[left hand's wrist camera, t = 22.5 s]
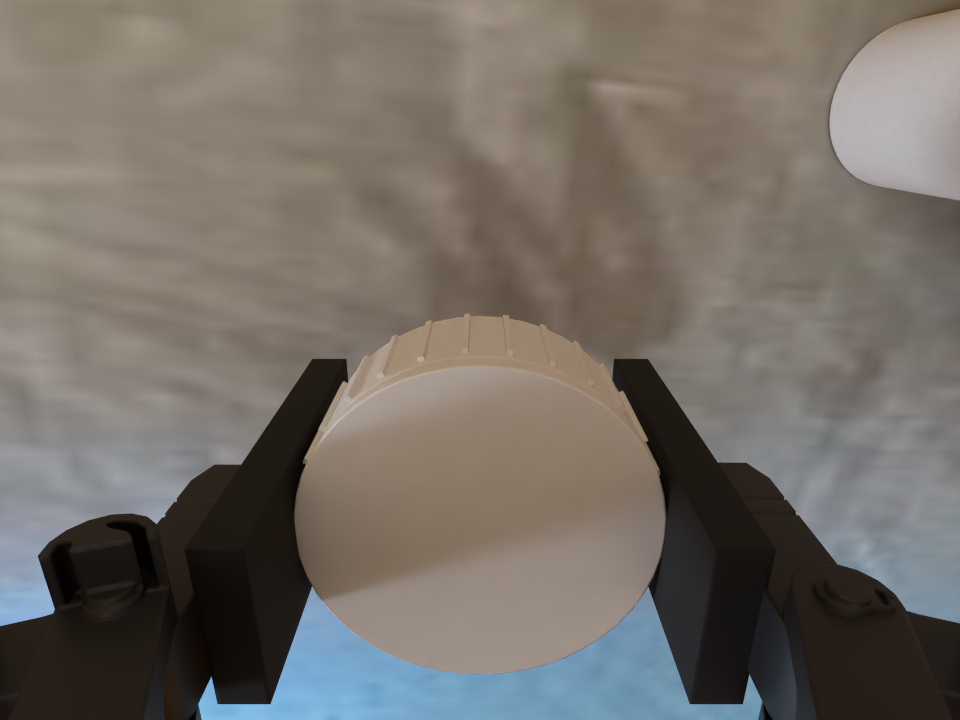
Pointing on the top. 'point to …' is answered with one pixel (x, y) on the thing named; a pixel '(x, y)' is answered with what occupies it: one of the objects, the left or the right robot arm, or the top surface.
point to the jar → (903, 108)
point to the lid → (480, 499)
